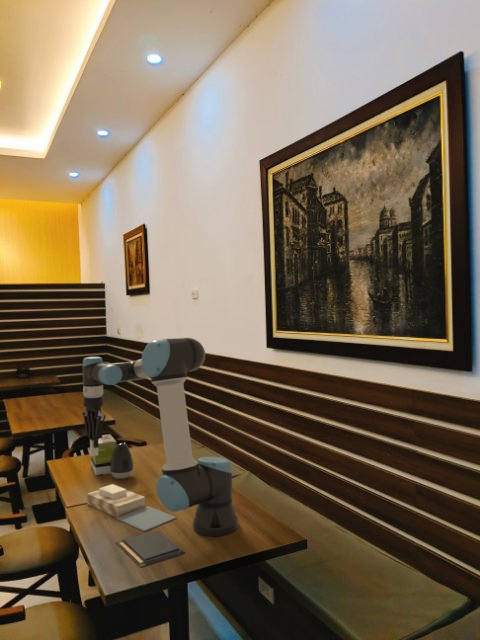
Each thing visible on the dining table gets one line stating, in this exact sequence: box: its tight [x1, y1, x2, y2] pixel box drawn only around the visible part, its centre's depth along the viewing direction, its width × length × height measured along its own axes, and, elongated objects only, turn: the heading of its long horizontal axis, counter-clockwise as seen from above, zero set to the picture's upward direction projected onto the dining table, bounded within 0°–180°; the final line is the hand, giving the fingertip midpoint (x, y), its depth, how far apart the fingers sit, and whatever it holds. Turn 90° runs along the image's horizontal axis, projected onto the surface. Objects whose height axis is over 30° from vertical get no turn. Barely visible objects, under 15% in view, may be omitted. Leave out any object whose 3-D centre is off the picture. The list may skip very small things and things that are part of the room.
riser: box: [86, 489, 146, 518], centre depth 191 cm, size 20×12×4 cm, turn 48°
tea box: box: [90, 433, 118, 476], centre depth 235 cm, size 15×10×15 cm
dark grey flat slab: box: [115, 530, 186, 569], centre depth 156 cm, size 20×2×15 cm
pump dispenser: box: [110, 441, 135, 480], centre depth 223 cm, size 10×10×15 cm
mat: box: [115, 506, 177, 533], centre depth 178 cm, size 16×14×1 cm
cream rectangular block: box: [98, 483, 127, 499], centre depth 192 cm, size 9×6×2 cm, turn 48°
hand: (94, 455), depth 200 cm, fingers closed
